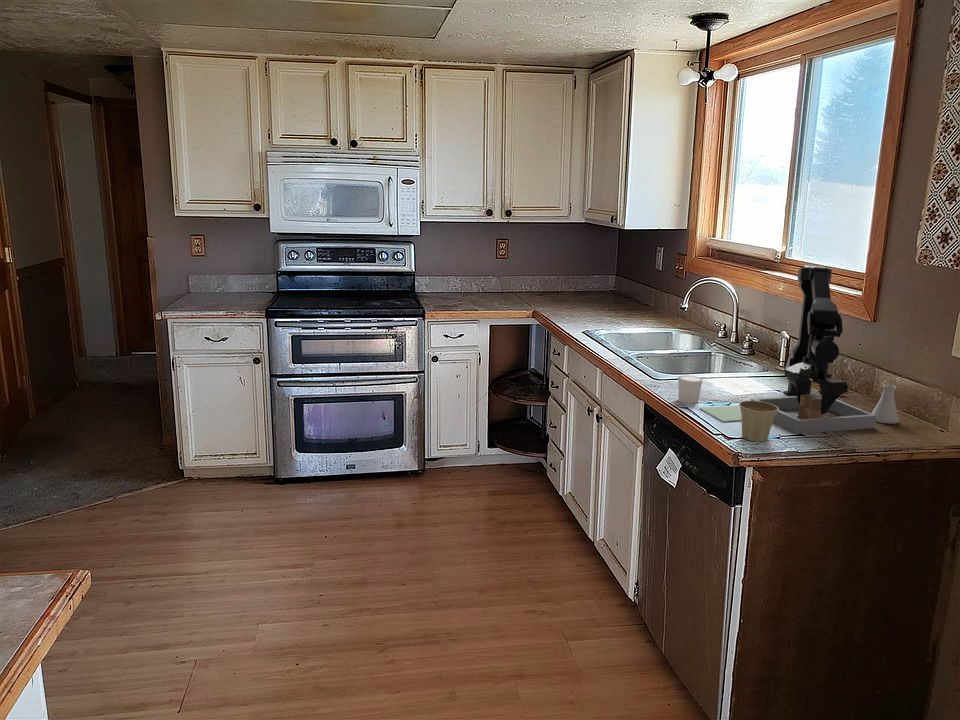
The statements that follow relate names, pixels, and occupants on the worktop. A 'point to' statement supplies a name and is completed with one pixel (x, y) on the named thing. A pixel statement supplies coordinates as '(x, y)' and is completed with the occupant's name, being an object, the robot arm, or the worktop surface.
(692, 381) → the shot glass
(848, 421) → the grey rimmed tray
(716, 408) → the mat
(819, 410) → the walnut block
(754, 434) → the flower pot
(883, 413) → the flask
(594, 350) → the worktop surface
